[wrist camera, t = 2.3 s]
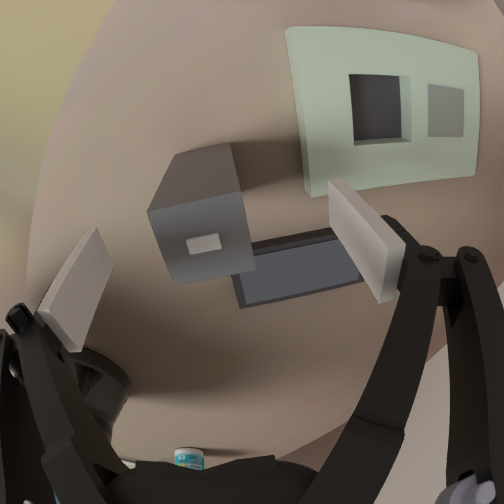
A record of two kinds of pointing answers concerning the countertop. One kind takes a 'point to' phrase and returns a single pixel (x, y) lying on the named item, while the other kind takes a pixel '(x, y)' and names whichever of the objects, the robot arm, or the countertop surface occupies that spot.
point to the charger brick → (201, 217)
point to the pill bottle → (189, 458)
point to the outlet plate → (382, 107)
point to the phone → (295, 268)
